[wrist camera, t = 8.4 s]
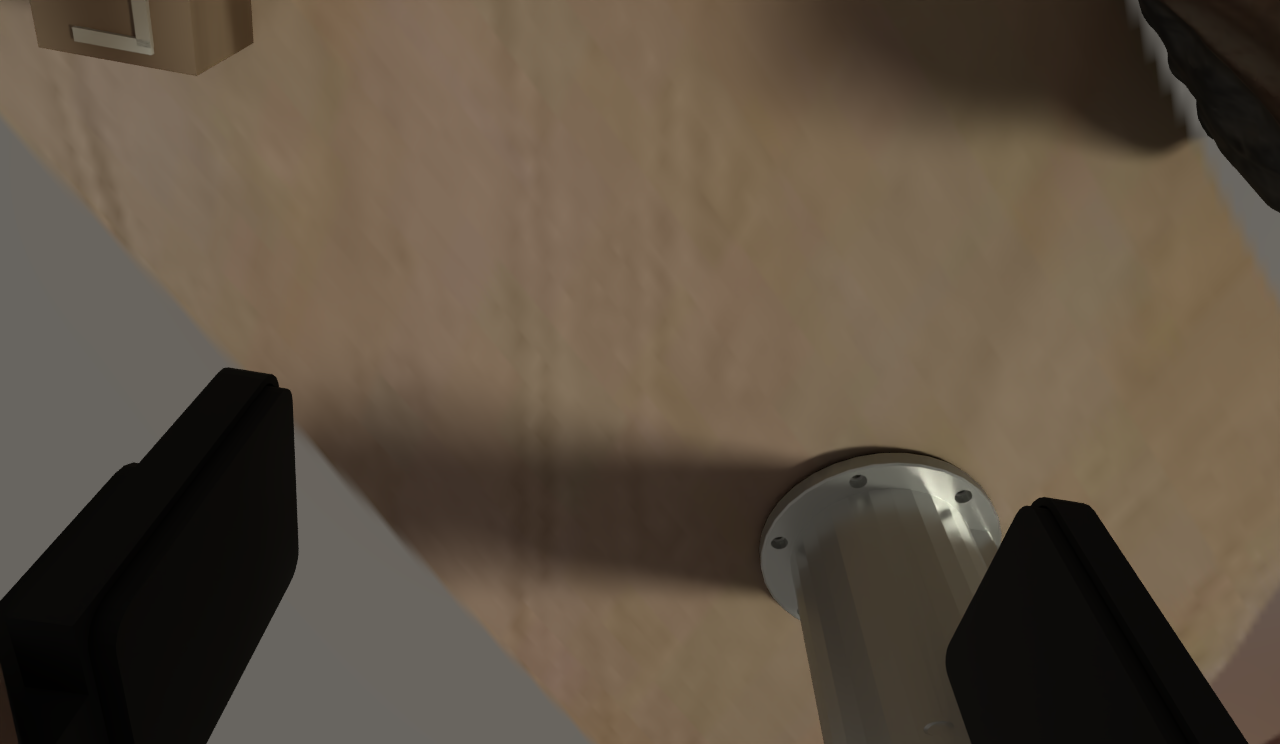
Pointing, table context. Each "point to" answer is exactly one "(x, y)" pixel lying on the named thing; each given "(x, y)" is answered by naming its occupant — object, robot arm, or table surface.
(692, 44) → the table surface
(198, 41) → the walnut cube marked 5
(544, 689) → the table surface
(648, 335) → the table surface
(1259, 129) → the dark rough rock
